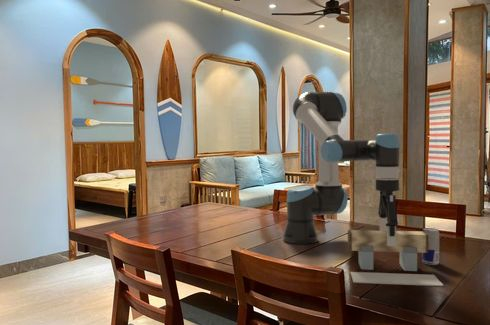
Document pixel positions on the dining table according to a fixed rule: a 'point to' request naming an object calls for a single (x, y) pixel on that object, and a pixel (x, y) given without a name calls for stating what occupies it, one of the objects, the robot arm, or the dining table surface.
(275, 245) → the dining table surface
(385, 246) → the rail
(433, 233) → the energy drink
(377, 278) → the mat
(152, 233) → the dining table surface
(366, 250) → the post left
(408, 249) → the post right
